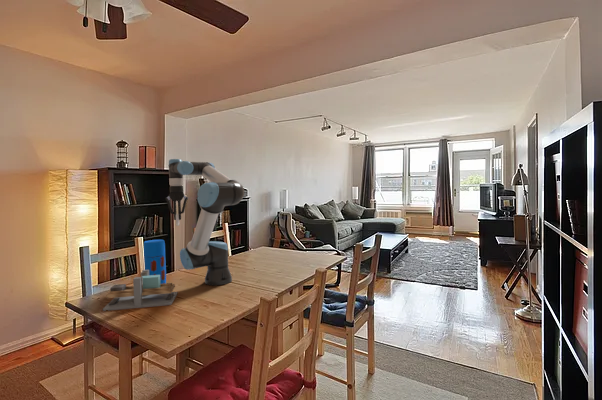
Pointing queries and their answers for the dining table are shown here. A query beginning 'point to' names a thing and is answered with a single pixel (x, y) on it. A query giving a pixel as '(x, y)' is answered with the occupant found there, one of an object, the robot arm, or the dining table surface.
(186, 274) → the dining table surface
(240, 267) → the dining table surface
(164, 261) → the thermos
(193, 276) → the dining table surface
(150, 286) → the block
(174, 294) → the stand
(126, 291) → the beam
